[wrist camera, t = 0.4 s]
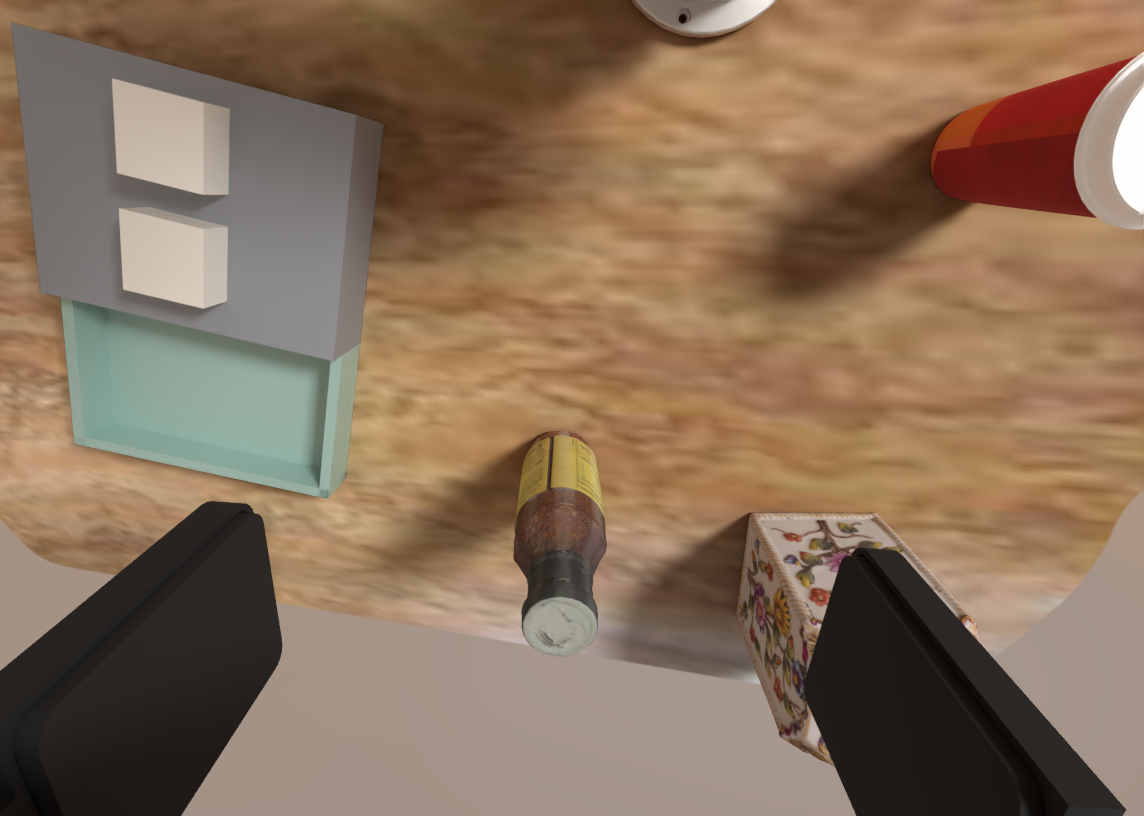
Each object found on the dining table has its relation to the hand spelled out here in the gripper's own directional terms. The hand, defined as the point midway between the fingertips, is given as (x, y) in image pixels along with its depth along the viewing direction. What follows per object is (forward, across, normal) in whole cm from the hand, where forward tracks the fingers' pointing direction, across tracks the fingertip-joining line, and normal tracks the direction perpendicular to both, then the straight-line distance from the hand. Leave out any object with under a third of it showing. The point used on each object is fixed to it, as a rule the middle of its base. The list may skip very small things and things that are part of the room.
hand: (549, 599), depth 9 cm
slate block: (+35, +25, -3) cm, 43 cm away
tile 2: (+30, +26, 0) cm, 40 cm away
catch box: (+35, +28, +11) cm, 46 cm away
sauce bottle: (+35, 0, +15) cm, 38 cm away
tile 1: (+30, +24, -7) cm, 39 cm away
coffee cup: (+35, -27, -11) cm, 46 cm away
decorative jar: (+35, -23, +24) cm, 49 cm away
